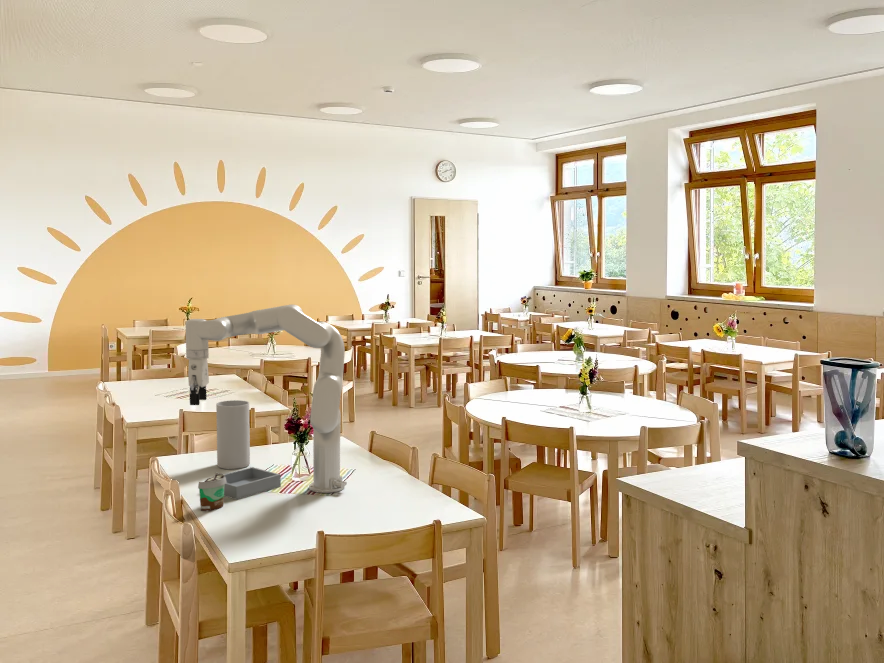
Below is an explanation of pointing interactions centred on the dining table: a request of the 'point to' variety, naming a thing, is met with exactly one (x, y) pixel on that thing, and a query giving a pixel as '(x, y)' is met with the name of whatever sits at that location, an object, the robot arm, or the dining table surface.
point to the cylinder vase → (233, 434)
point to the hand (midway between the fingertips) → (198, 402)
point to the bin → (250, 482)
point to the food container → (212, 492)
